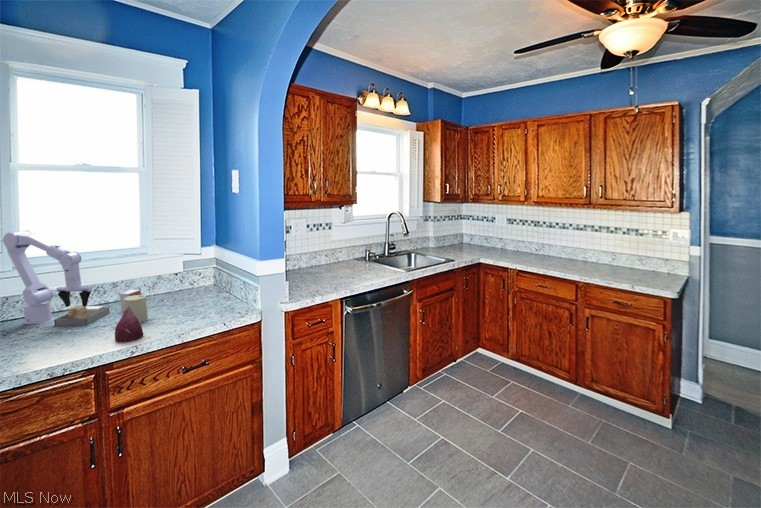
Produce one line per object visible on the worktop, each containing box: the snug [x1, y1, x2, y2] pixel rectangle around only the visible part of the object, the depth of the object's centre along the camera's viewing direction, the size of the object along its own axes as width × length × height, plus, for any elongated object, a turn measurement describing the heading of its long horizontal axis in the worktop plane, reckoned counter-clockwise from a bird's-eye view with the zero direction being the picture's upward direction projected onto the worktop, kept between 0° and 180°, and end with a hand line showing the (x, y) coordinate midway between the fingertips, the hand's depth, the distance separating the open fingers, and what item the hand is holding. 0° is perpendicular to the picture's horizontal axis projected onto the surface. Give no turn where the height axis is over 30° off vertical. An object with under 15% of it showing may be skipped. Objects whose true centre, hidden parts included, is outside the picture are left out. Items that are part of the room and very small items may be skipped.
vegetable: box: [114, 306, 144, 344], centre depth 172 cm, size 10×10×15 cm
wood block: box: [67, 305, 88, 319], centre depth 189 cm, size 4×6×7 cm
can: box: [124, 294, 149, 323], centre depth 193 cm, size 9×9×12 cm
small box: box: [119, 289, 142, 313], centre depth 207 cm, size 8×6×10 cm
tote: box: [53, 306, 110, 327], centre depth 193 cm, size 14×18×4 cm
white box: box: [86, 305, 105, 317], centre depth 198 cm, size 10×5×4 cm, turn 95°
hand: (76, 306), depth 189 cm, fingers open, 7 cm apart
